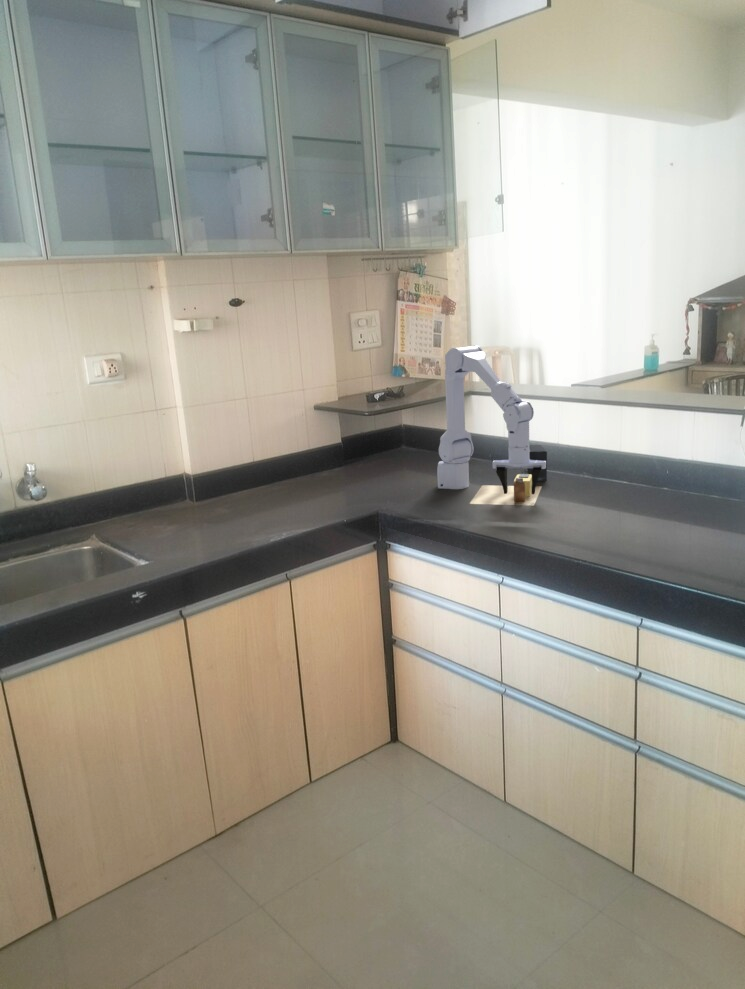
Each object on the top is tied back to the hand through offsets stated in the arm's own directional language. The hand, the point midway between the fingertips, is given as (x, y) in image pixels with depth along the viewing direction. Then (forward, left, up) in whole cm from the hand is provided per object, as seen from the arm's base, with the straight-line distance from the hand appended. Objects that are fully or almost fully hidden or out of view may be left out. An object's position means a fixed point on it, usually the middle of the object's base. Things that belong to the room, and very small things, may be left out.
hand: (519, 493), depth 212 cm
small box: (+1, +28, -3) cm, 28 cm away
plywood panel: (-4, +6, -3) cm, 8 cm away
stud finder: (0, +9, -2) cm, 9 cm away
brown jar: (0, 0, -2) cm, 2 cm away
